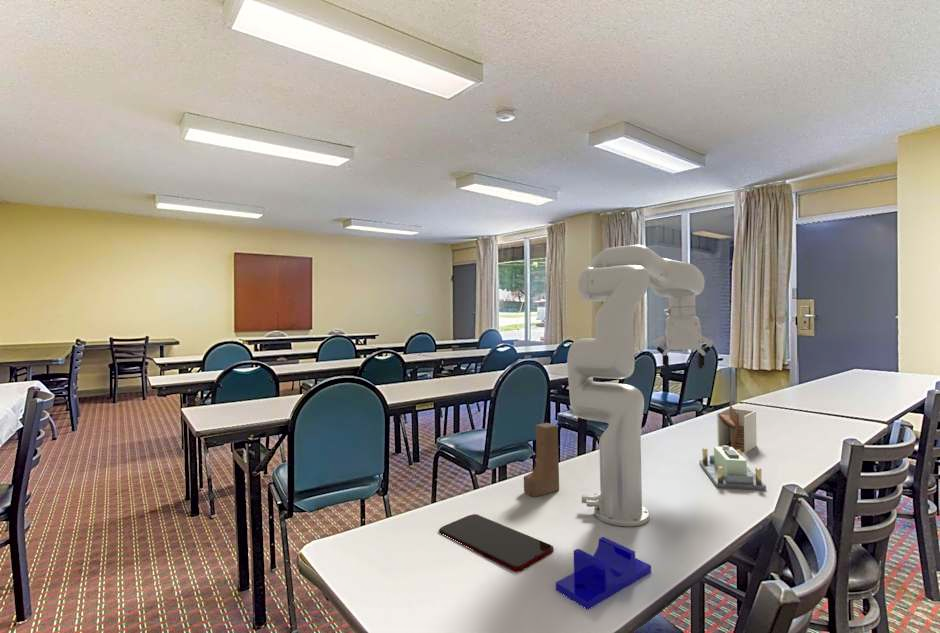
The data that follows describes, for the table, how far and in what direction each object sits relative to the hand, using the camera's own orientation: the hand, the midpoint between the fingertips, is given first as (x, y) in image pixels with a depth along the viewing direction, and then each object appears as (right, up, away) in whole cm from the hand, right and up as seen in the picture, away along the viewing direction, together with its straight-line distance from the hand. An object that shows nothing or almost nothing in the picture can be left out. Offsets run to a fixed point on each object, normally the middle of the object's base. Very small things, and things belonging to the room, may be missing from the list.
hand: (683, 368), depth 148 cm
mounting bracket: (-41, -33, -60) cm, 80 cm away
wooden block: (-46, -32, -17) cm, 59 cm away
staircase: (+27, -30, +18) cm, 44 cm away
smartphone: (-61, -34, -44) cm, 82 cm away
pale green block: (+9, -29, -10) cm, 32 cm away
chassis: (+9, -30, -10) cm, 33 cm away
